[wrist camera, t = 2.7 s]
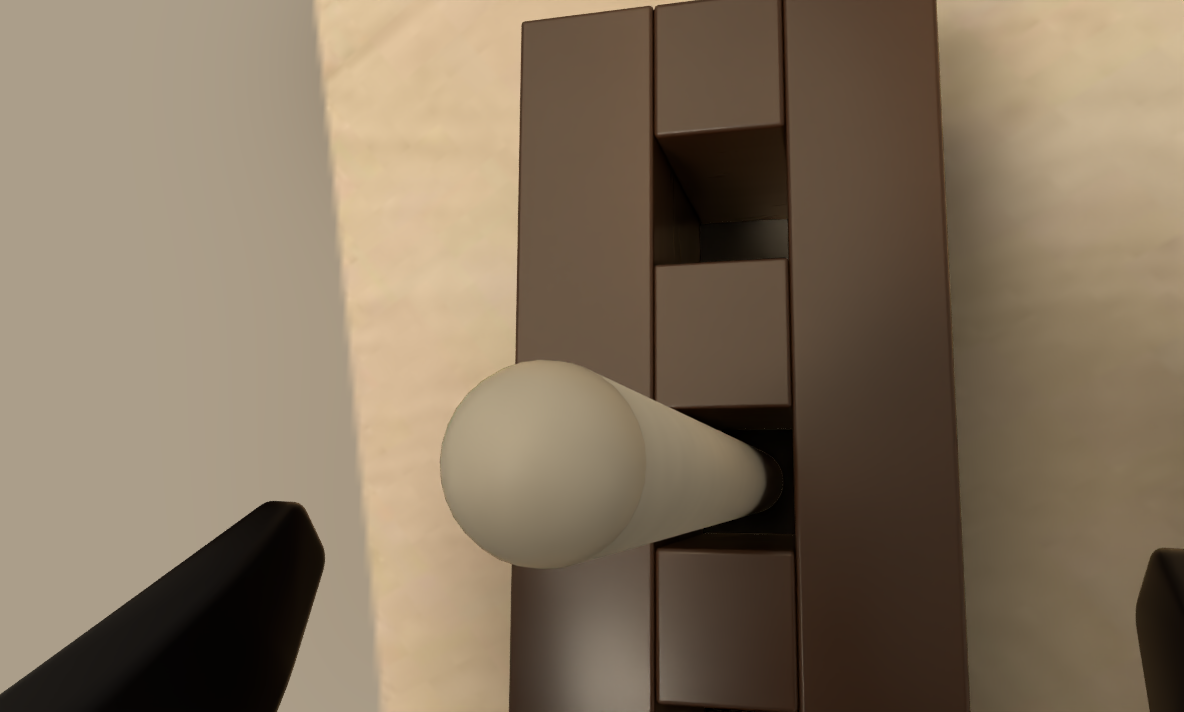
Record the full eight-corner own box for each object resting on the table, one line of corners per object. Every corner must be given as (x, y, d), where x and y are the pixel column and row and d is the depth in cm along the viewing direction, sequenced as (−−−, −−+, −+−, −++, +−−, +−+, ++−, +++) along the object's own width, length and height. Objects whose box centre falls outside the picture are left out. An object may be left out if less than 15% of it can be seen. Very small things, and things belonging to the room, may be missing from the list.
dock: (911, 102, 18) (934, -33, 14) (945, 908, 16) (989, 1080, 12) (597, 132, 20) (520, 19, 15) (592, 868, 18) (502, 1005, 13)
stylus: (785, 513, 18) (622, 583, 5) (723, 511, 18) (399, 575, 5) (784, 449, 18) (623, 342, 5) (722, 450, 18) (407, 348, 5)
